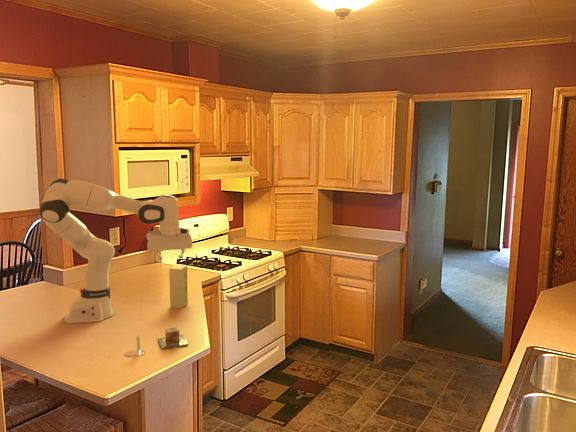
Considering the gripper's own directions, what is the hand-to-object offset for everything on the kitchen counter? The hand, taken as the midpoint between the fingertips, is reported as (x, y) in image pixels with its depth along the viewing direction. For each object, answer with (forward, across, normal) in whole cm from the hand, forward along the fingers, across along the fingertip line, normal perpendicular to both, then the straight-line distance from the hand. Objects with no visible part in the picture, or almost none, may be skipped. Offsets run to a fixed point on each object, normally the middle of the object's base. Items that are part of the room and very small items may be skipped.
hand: (170, 259), depth 229 cm
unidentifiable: (+32, -20, -29) cm, 47 cm away
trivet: (+31, -4, -24) cm, 39 cm away
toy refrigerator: (+31, +8, +24) cm, 40 cm away
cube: (+30, -4, -24) cm, 39 cm away
